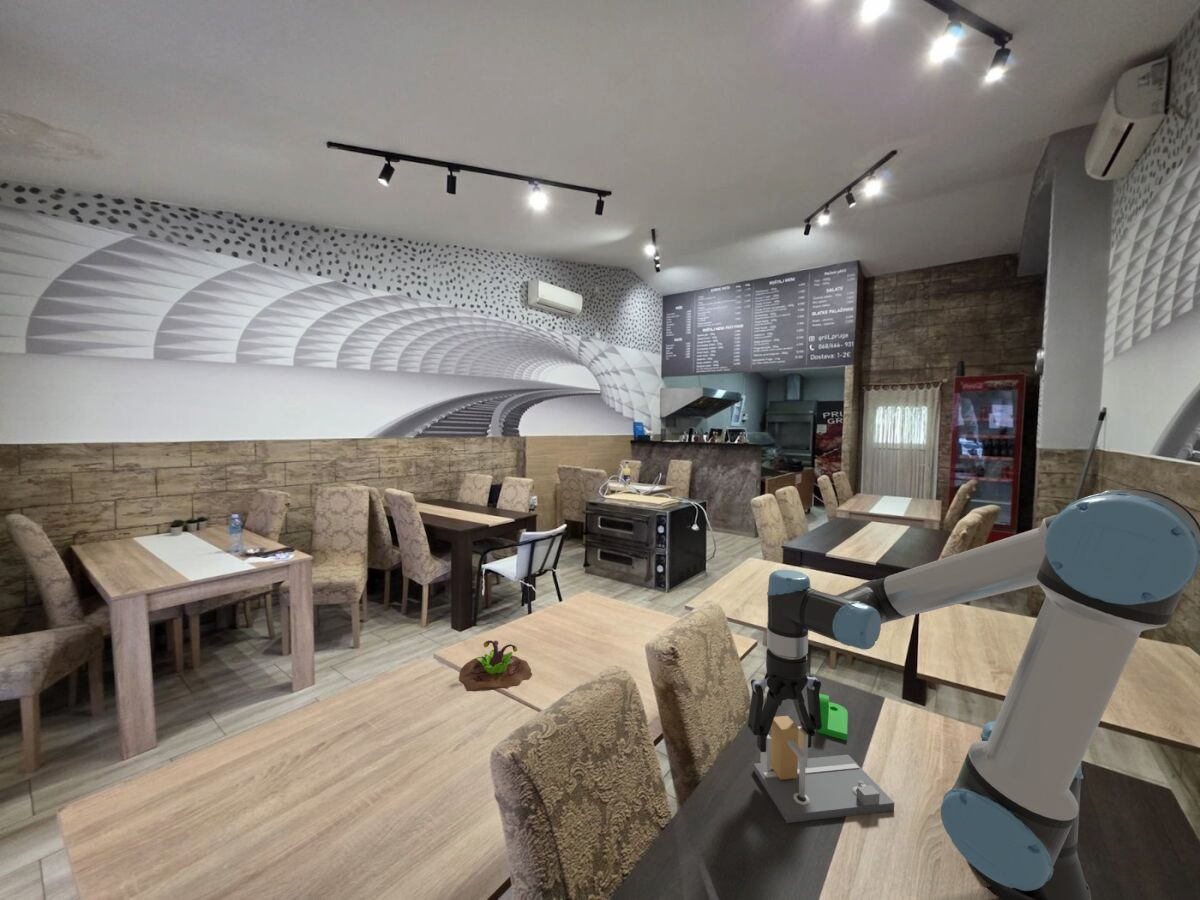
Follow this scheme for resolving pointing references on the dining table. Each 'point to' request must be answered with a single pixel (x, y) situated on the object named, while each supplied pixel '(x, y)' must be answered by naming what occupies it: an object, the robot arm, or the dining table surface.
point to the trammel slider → (787, 751)
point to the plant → (494, 670)
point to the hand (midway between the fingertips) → (783, 763)
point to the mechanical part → (833, 718)
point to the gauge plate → (825, 790)
